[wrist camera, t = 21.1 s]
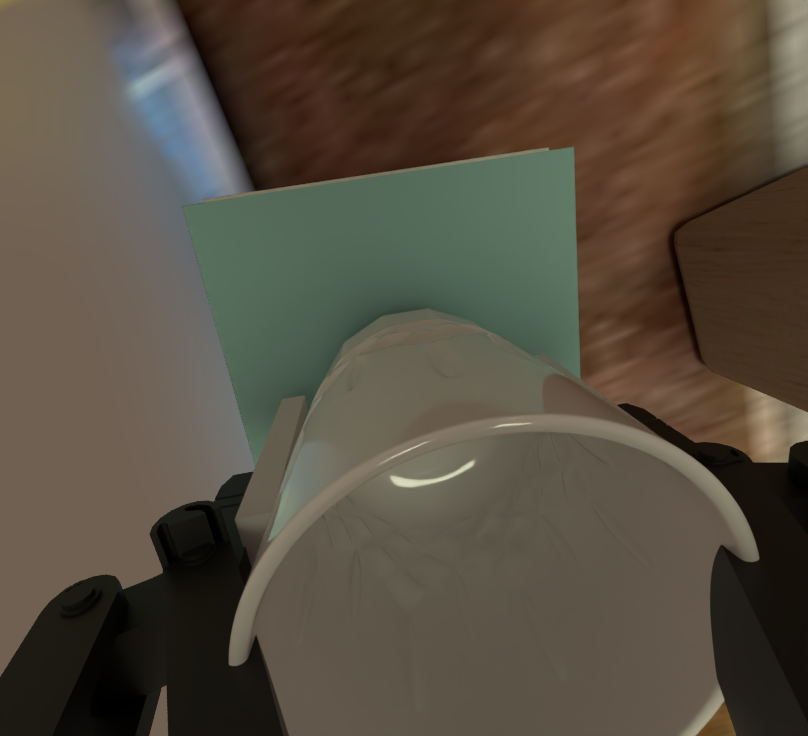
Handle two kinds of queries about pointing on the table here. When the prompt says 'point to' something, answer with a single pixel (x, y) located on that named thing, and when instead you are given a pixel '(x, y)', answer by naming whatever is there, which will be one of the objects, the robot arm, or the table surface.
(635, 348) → the table surface
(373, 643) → the white cup
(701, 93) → the table surface
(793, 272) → the block
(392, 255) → the lid
